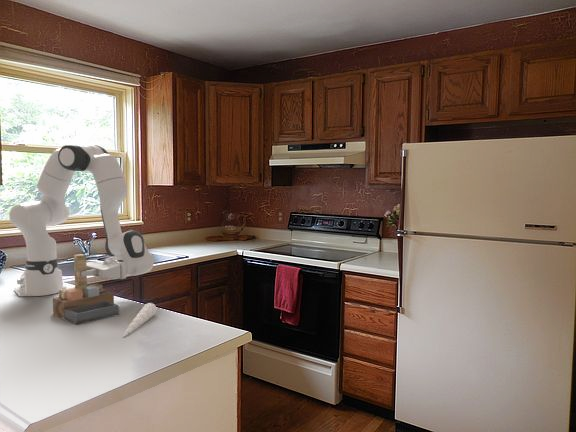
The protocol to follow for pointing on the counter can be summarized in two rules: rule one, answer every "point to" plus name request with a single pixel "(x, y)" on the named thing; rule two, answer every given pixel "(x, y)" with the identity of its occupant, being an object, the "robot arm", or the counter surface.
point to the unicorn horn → (141, 317)
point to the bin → (91, 312)
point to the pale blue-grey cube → (90, 291)
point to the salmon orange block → (74, 294)
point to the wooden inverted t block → (79, 276)
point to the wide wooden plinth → (79, 302)
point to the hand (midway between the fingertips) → (78, 272)
